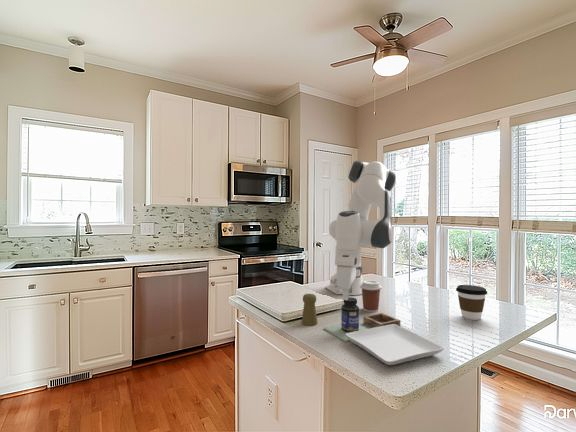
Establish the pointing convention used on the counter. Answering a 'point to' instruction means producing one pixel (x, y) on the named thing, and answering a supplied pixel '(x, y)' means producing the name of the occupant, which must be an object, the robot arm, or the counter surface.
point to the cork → (309, 310)
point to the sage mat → (340, 331)
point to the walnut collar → (373, 320)
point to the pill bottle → (350, 315)
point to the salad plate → (393, 344)
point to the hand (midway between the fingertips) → (347, 296)
